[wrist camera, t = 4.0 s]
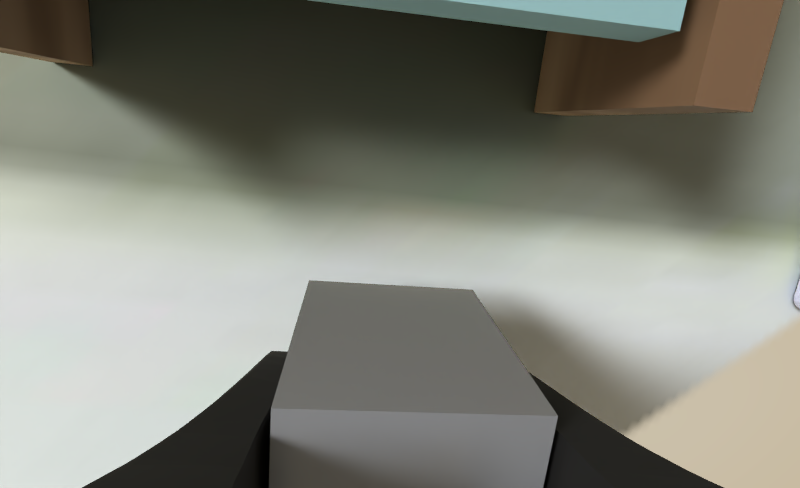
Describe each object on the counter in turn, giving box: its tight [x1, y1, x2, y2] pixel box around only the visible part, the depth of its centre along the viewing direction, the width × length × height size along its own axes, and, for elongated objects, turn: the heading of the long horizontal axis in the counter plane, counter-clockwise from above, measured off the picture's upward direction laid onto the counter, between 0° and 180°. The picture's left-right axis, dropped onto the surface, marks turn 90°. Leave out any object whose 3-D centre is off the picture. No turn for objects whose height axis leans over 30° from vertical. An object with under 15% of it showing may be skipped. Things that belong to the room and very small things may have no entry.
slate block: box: [269, 280, 558, 488], centre depth 9 cm, size 4×4×5 cm
